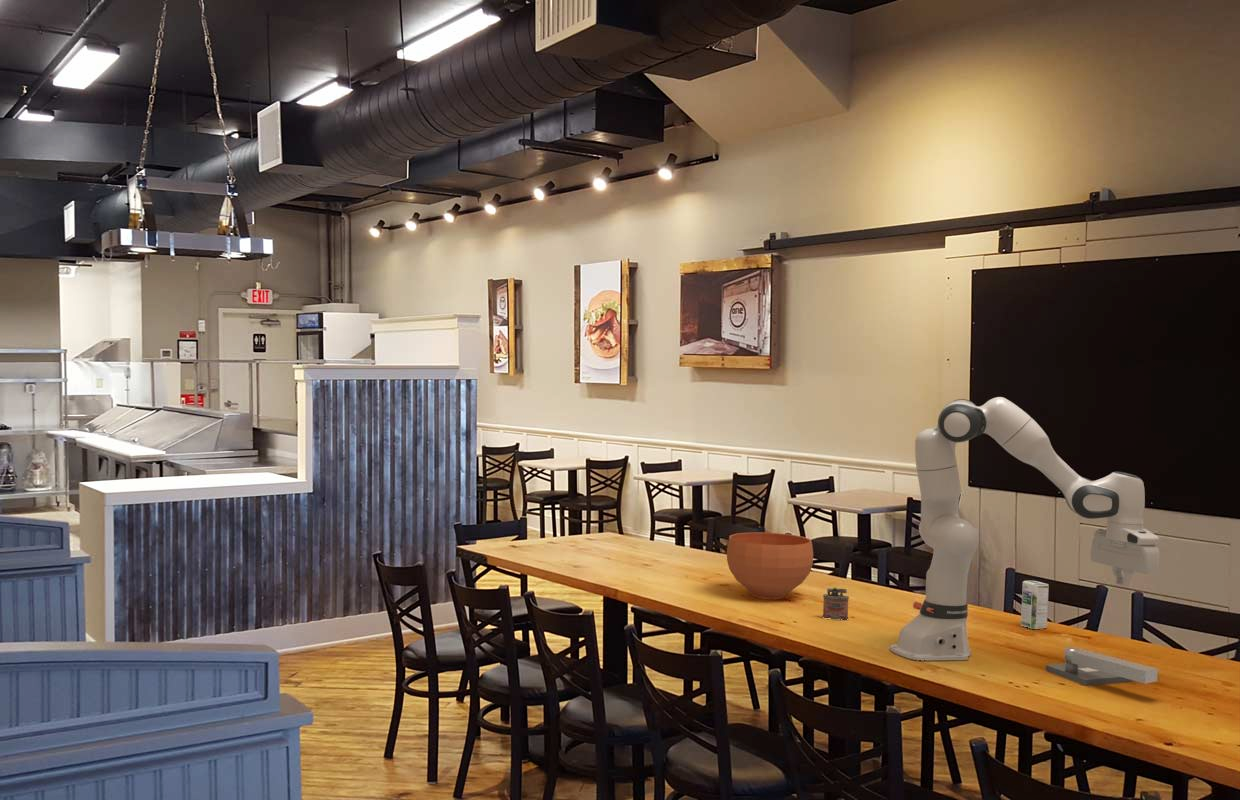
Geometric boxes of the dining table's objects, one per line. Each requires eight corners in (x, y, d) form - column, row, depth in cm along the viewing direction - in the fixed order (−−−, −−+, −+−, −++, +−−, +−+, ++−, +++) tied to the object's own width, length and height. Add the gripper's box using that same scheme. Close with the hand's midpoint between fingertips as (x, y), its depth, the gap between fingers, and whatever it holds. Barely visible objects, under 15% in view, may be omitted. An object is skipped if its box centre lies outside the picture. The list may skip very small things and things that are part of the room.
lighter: (822, 619, 322) (823, 588, 322) (822, 616, 326) (823, 586, 325) (848, 621, 320) (849, 589, 320) (848, 618, 324) (849, 587, 323)
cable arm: (1059, 659, 263) (1060, 648, 263) (1071, 657, 266) (1072, 646, 266) (1145, 683, 243) (1145, 671, 243) (1157, 681, 246) (1157, 668, 246)
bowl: (793, 609, 335) (795, 548, 334) (711, 598, 350) (713, 539, 349) (823, 594, 361) (824, 537, 360) (745, 584, 376) (747, 529, 375)
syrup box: (1019, 626, 320) (1021, 580, 320) (1034, 625, 322) (1036, 580, 322) (1033, 630, 315) (1034, 584, 315) (1047, 629, 317) (1049, 583, 317)
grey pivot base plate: (1085, 685, 256) (1086, 669, 256) (1045, 670, 269) (1046, 654, 269) (1157, 679, 264) (1158, 663, 264) (1115, 664, 277) (1115, 649, 277)
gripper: (1085, 527, 276) (1083, 577, 276) (1145, 539, 257) (1143, 593, 257) (1104, 527, 278) (1101, 577, 278) (1165, 539, 258) (1162, 592, 259)
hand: (1122, 585), depth 267 cm, fingers closed
